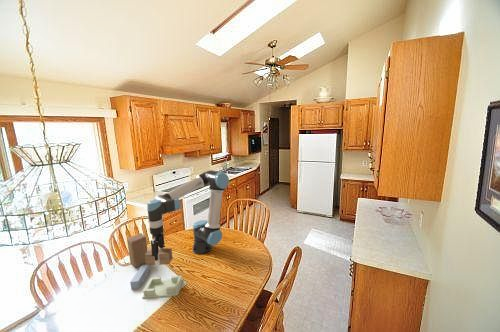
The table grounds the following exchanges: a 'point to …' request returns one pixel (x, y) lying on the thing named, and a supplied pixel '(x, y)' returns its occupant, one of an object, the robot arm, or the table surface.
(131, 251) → the wooden block
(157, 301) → the table surface
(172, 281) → the jig
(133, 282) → the blue-grey rectangular prism
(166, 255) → the brown rectangular block
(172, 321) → the table surface
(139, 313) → the table surface
